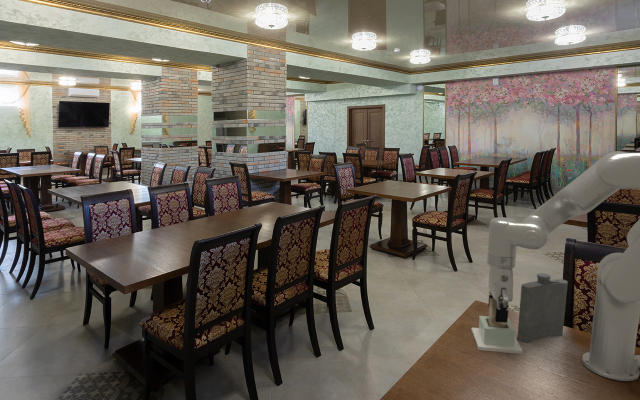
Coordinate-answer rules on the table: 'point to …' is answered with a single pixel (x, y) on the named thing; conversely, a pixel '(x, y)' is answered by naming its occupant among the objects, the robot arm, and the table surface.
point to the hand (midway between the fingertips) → (497, 314)
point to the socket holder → (496, 337)
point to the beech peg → (494, 315)
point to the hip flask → (542, 308)
